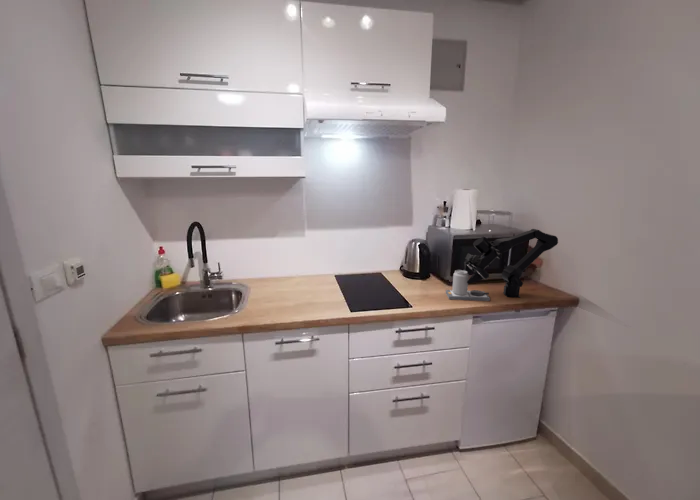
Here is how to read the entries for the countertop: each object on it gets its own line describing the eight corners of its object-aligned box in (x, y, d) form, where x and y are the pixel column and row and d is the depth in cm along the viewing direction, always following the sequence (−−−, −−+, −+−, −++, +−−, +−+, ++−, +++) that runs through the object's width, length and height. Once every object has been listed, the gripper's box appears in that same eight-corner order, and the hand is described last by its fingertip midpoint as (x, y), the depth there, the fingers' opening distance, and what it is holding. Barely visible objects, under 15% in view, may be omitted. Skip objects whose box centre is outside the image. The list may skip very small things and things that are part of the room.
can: (453, 295, 167) (455, 273, 165) (450, 290, 175) (452, 268, 172) (468, 296, 166) (470, 273, 164) (465, 291, 174) (467, 269, 171)
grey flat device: (485, 294, 174) (485, 289, 174) (491, 301, 164) (491, 296, 164) (445, 292, 176) (445, 287, 176) (449, 299, 167) (449, 294, 166)
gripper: (468, 244, 175) (447, 265, 176) (484, 252, 156) (460, 275, 158) (482, 258, 177) (460, 278, 179) (499, 268, 159) (475, 290, 160)
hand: (463, 280), depth 169 cm, fingers open, 9 cm apart
